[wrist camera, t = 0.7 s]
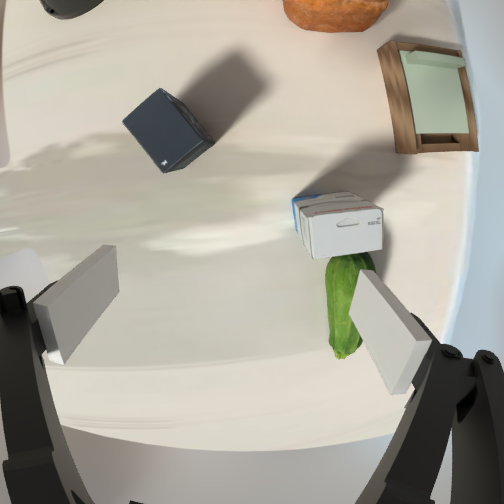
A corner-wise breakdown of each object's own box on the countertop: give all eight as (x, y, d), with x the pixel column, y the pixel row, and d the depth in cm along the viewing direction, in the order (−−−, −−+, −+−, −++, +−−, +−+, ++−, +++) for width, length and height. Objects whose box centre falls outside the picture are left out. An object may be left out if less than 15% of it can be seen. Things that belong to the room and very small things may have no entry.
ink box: (294, 231, 42) (310, 262, 31) (291, 197, 40) (306, 216, 29) (352, 224, 42) (384, 250, 30) (350, 190, 40) (384, 206, 29)
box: (216, 143, 38) (204, 141, 28) (184, 169, 39) (161, 176, 29) (182, 100, 36) (159, 85, 26) (150, 127, 37) (119, 121, 27)
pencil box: (376, 50, 33) (390, 40, 28) (443, 56, 32) (460, 50, 27) (396, 152, 38) (413, 154, 33) (460, 149, 37) (478, 151, 32)
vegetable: (376, 262, 35) (359, 379, 41) (380, 243, 40) (366, 352, 47) (320, 256, 38) (315, 371, 45) (332, 239, 44) (327, 345, 51)
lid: (396, 51, 30) (409, 44, 26) (451, 58, 29) (466, 53, 25) (413, 133, 34) (427, 133, 30) (465, 133, 33) (481, 133, 29)
